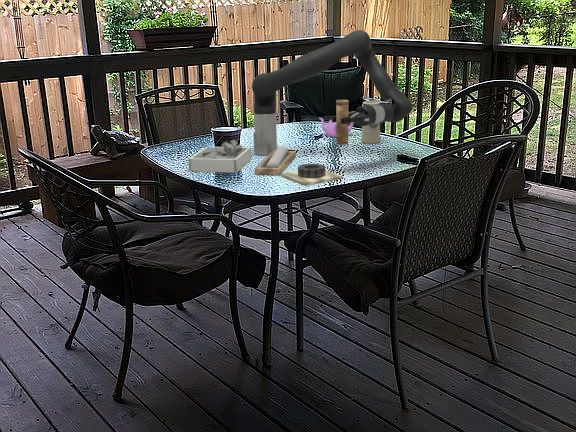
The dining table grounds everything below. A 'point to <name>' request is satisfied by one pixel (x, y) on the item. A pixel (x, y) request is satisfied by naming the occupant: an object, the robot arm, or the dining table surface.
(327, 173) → the collar board
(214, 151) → the coral
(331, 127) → the teapot
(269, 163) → the tube
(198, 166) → the coral tray
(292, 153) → the tube rest
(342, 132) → the dowel
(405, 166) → the dining table surface
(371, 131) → the travel mug
